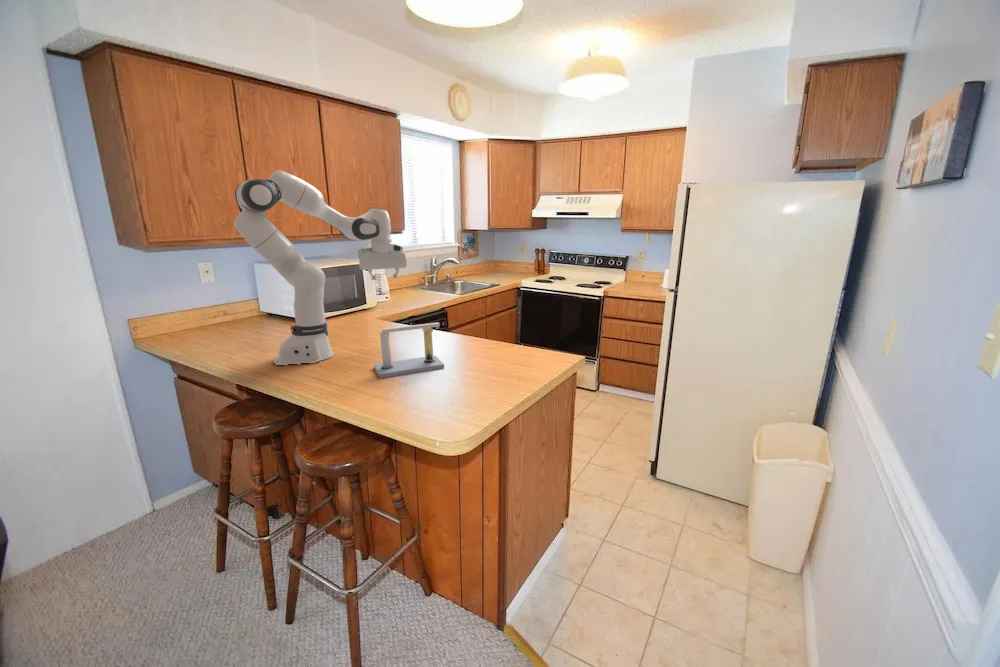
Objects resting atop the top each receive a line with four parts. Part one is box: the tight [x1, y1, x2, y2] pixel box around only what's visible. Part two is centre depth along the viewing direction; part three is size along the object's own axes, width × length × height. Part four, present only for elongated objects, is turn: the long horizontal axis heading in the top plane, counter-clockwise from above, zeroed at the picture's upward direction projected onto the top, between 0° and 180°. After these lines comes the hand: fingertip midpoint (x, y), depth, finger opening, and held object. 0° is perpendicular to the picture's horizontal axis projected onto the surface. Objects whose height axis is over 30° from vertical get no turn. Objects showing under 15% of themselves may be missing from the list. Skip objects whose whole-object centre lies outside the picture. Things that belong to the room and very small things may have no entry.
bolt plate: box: [373, 322, 445, 379], centre depth 160 cm, size 24×12×16 cm, turn 114°
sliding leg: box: [422, 327, 434, 360], centre depth 163 cm, size 3×3×12 cm
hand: (384, 279), depth 190 cm, fingers open, 8 cm apart
